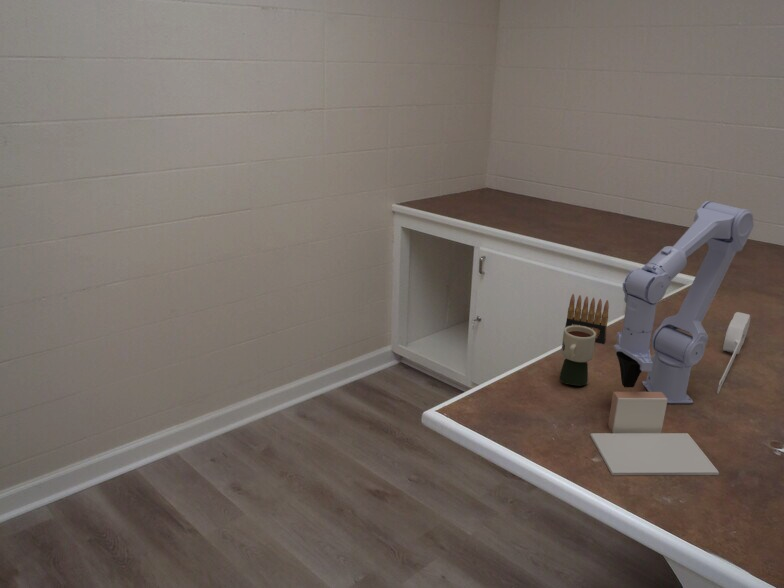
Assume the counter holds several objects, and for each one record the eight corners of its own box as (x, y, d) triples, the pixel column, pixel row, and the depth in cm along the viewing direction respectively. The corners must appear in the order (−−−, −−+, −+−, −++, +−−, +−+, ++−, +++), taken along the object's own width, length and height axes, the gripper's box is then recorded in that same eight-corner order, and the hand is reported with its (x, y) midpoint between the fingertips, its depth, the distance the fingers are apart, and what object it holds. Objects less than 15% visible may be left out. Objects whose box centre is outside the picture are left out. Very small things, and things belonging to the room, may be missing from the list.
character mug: (565, 369, 163) (572, 319, 158) (595, 376, 159) (602, 326, 155) (550, 387, 154) (556, 335, 149) (581, 396, 151) (588, 343, 146)
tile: (607, 425, 140) (613, 391, 137) (655, 425, 140) (661, 391, 137) (612, 433, 137) (618, 399, 134) (661, 433, 137) (667, 399, 134)
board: (590, 435, 136) (590, 433, 135) (687, 435, 136) (687, 433, 136) (612, 475, 124) (612, 472, 123) (718, 475, 124) (719, 472, 124)
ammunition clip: (605, 341, 178) (611, 299, 174) (604, 344, 177) (610, 301, 172) (565, 333, 183) (570, 292, 178) (563, 335, 181) (568, 294, 177)
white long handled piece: (696, 398, 156) (715, 404, 154) (702, 368, 153) (722, 374, 150) (730, 332, 184) (746, 336, 182) (735, 306, 180) (752, 309, 178)
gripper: (606, 313, 144) (598, 369, 149) (631, 342, 130) (621, 403, 135) (638, 313, 144) (629, 369, 149) (667, 342, 131) (655, 403, 135)
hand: (627, 385), depth 142 cm, fingers closed
